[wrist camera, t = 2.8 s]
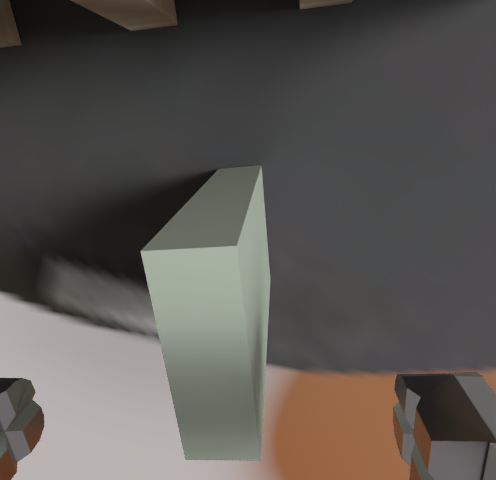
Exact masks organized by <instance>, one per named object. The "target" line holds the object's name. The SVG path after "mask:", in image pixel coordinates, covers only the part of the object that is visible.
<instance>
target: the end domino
mask: <svg viewBox="0 0 496 480" xmlns="http://www.w3.org/2000/svg"><path fill="white" fill-rule="evenodd" d="M141 256H142V260H143V265H144V270H145V274H146V279H147V284H148V288H149V293H150V297H151V302H152V307H153V311H154V316H155V321H156V325H157V330H158V334H159V339H160V344H161V348H162V353H163V357H164V362H165V367H166V371H167V376H168V380H169V385H170V390H171V395H172V399H173V404H174V408H175V413H176V418H177V422H178V427H179V432H180V436H181V441H182V445H183V450H184V454H185V459H186V460H247V461H248V460H249V461H260V460H261V446H262V428H263V409H264V390H265V371H266V353H267V334H268V315H269V296H270V270H269V257H268V244H267V232H266V219H265V206H264V193H263V180H262V167H261V165H260V166H248V167H235V168H223V169H218V170H217V171H216V172H215V173H214V175H213V176H212V177H211V178H210V179H209V180H208V181H207V182H206V183H205V184H204V185H203V186H202V187H201V188H200V189H199V190H198V191H197V192H196V193H195V194H194V196H193V197H192V198H191V199H190V200H189V201H188V202H187V203H186V204H185V205H184V206H183V207H182V208H181V209H180V210H179V211H178V212H177V213H176V214H175V215H174V217H173V218H172V219H171V220H170V221H169V222H168V223H167V224H166V225H165V226H164V227H163V228H162V229H161V230H160V231H159V232H158V233H157V234H156V235H155V236H154V238H153V239H152V240H151V241H150V242H149V243H148V244H147V245H146V246H145V247H144V248H143V249H142V250H141Z"/></svg>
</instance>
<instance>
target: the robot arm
mask: <svg viewBox="0 0 496 480" xmlns="http://www.w3.org/2000/svg"><path fill="white" fill-rule="evenodd" d="M395 393H396V395H397V398H398V400H399V402H398V403H397V404H396V405H395V406H394V407H393V425H394V434H395V438H396V442H397V446H398V449H399V452H400V455H401V458H402V459H403V460H404V461H406V463H407V464H409V465H410V478H409V480H496V393H495V392H494V391H493V389H492V388H491V387H490V386H489V384H488V383H487V382H486V381H485V379H484V378H483V377H482V375H480V374H478V373H477V372H465V373H449V374H397V376H396V379H395ZM34 394H35V390H34V388H33V385H32V383H31V381H30V380H27V379H23V378H0V480H11V479H12V477H13V476H14V475H15V474H16V472H17V462H18V461H19V460H21V459H22V458H24V457H25V456H27V455H28V454H29V453H31V452H32V450H33V449H34V447H35V446H36V445H37V443H38V442H39V440H40V437H41V434H42V431H43V428H44V414H43V412H42V409H41V407H40V406H39V405H38V404H37V403H35V402H34V401H33V400H32V399H33V397H34Z"/></svg>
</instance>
